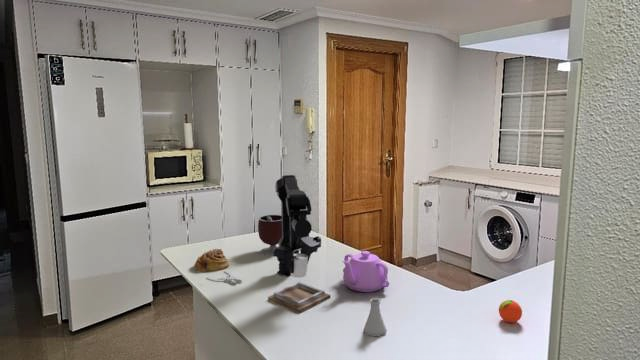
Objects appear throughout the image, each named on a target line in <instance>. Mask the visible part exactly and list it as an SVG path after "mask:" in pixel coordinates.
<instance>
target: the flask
mask: <svg viewBox="0 0 640 360" xmlns="http://www.w3.org/2000/svg"><path fill="white" fill-rule="evenodd" d="M369 302H370V310H369V314H368V317H367V320H366V322H365V324H364V328H363V332H364V333H365V334H366V335H367V336H372V337H373V336H374V337H379V336H383V335H386V334H387V327H386V325H385V322H384V320H383V316H382V313H381V309H380V304H381V300H380V299H379V298H371V299H370V300H369Z"/></svg>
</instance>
